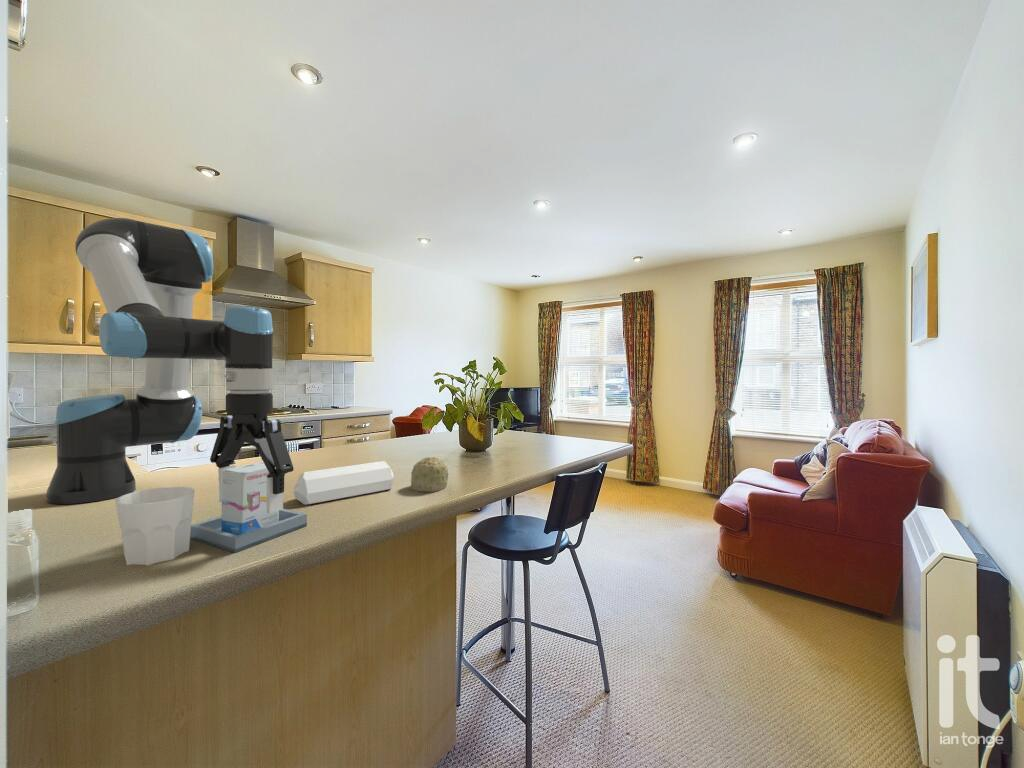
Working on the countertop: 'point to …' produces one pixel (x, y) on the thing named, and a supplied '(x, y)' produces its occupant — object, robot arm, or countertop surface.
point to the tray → (214, 536)
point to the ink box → (245, 499)
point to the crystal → (343, 482)
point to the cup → (155, 524)
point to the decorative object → (429, 475)
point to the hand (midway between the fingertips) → (250, 505)
